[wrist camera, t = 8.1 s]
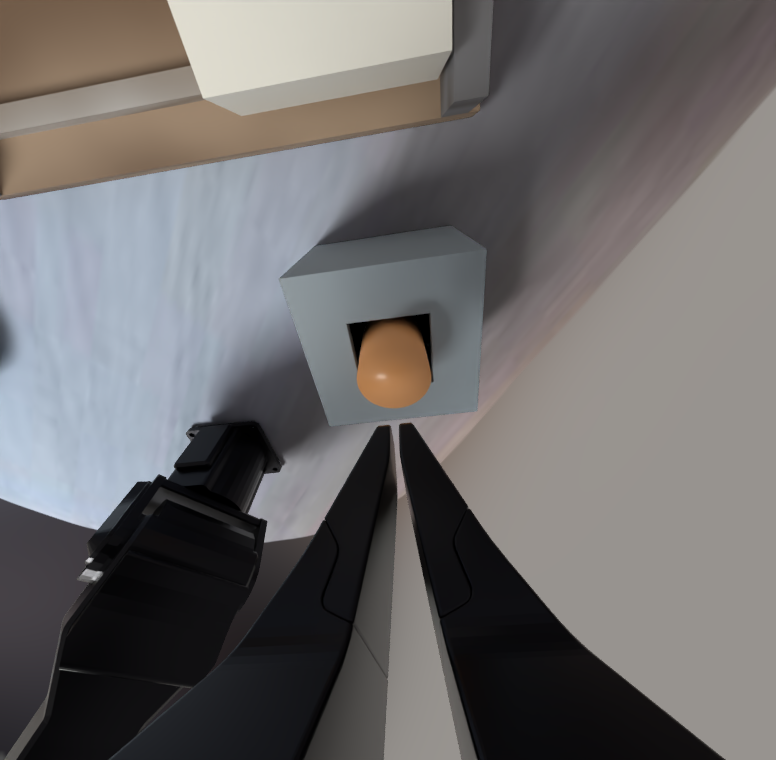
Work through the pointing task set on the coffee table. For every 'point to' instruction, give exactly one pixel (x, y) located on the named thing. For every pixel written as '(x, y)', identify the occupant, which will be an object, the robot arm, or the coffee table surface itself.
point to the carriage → (310, 48)
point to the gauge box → (391, 315)
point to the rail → (177, 96)
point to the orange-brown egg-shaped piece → (393, 363)
